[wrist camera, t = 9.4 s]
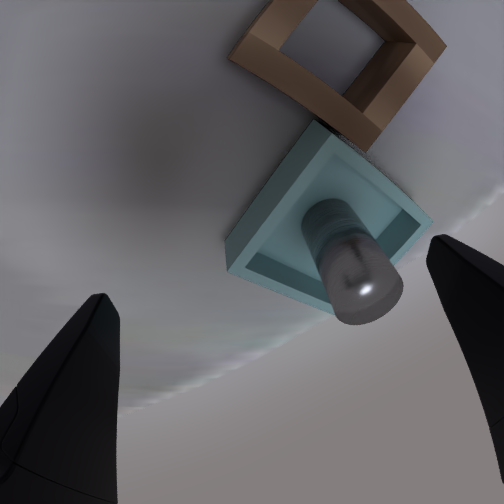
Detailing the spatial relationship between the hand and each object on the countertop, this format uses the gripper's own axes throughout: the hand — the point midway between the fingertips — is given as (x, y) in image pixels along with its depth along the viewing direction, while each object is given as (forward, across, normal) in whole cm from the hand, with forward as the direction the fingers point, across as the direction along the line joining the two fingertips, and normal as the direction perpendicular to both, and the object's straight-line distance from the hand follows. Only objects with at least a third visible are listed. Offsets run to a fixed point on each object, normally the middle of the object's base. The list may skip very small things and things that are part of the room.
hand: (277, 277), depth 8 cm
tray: (+12, -5, +7) cm, 15 cm away
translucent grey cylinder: (+12, -5, +7) cm, 15 cm away
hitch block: (+13, -6, -5) cm, 15 cm away
